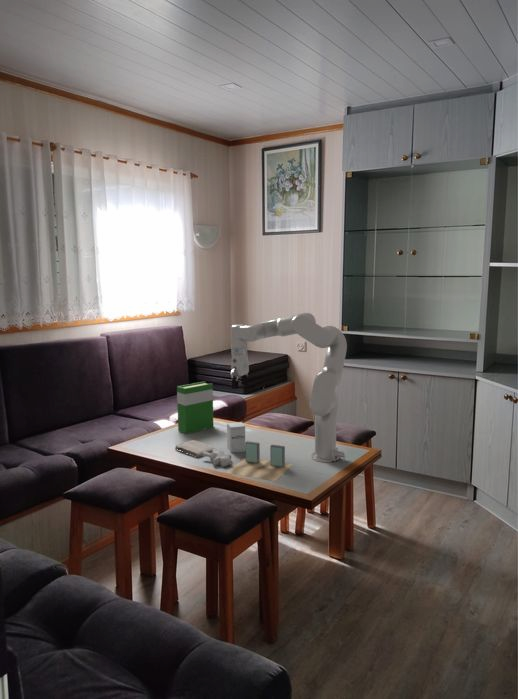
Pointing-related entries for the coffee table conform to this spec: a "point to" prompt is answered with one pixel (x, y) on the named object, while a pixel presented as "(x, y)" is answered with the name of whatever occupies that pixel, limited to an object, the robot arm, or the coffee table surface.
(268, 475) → the oak board
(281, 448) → the tile near
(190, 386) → the hardback book
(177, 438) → the coffee table surface
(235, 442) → the supplement box
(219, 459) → the bunny figurine
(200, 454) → the grey tracked toy vehicle
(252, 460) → the tile far
